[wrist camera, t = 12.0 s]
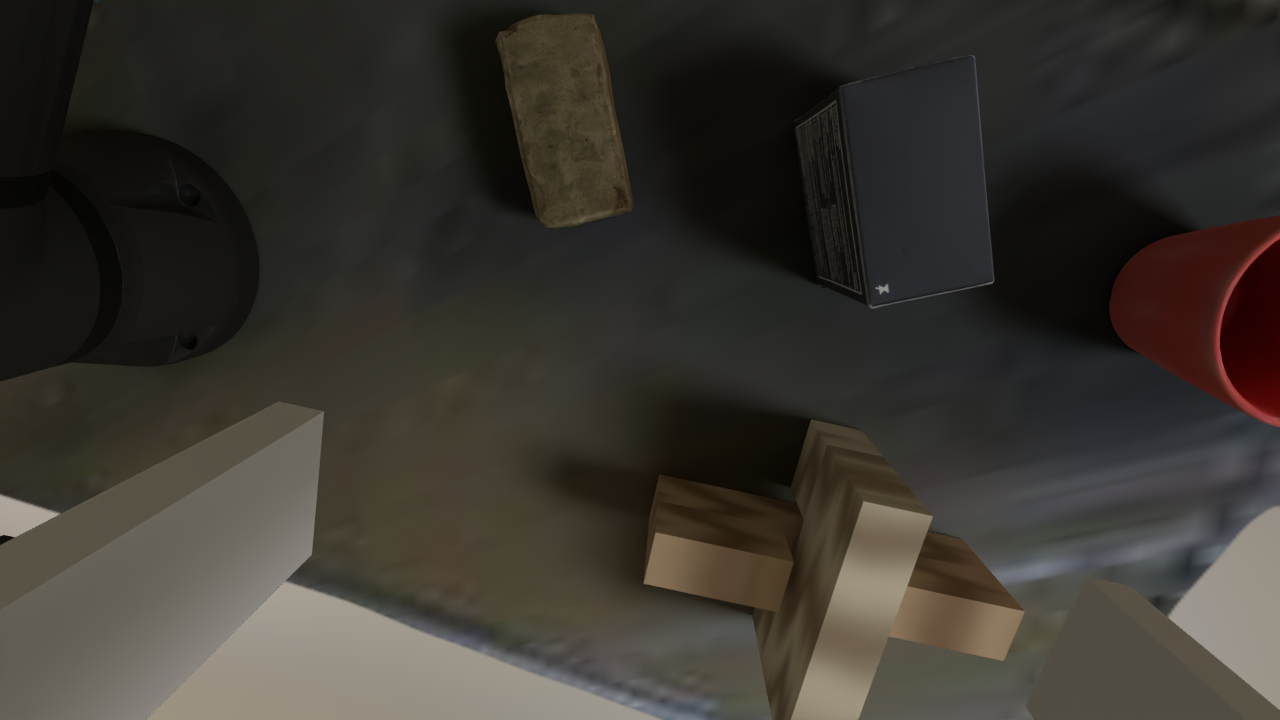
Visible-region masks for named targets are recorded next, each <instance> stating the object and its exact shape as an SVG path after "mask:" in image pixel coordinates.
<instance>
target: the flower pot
mask: <svg viewBox="0 0 1280 720" xmlns="http://www.w3.org/2000/svg"><path fill="white" fill-rule="evenodd" d="M1109 313H1110V318H1111V322H1112V325H1113V327H1114V330H1115V331H1116V333H1117V335H1118V336H1119V337H1120V339H1121V340H1122V341H1123V342H1124V343H1125V344H1126V345H1127V346H1129V347H1130V348H1131V349H1133V350H1135V351H1136V352H1138V353H1140V354H1141V355H1143V356H1144V357H1146V358H1148V359H1149V360H1151V361H1152V362H1154V363H1155V364H1157V365H1159V366H1160V367H1162V368H1164V369H1165V370H1167V371H1169V372H1170V373H1172V374H1174V375H1175V376H1177V377H1179V378H1181V379H1182V380H1184V381H1186V382H1188V383H1189V384H1191V385H1193V386H1195V387H1197V388H1199V389H1200V390H1202V391H1204V392H1206V393H1208V394H1209V395H1211V396H1213V397H1215V398H1217V399H1218V400H1220V401H1222V402H1224V403H1226V404H1227V405H1229V406H1231V407H1233V408H1235V409H1237V410H1239V411H1241V412H1243V413H1245V414H1247V415H1249V416H1251V417H1253V418H1255V419H1257V420H1259V421H1262V422H1264V423H1267V424H1270V425H1273V426H1277V427H1280V215H1279V216H1273V217H1268V218H1262V219H1255V220H1250V221H1244V222H1239V223H1234V224H1229V225H1224V226H1219V227H1214V228H1209V229H1204V230H1199V231H1194V232H1189V233H1184V234H1179V235H1174V236H1170V237H1166V238H1164V239H1161V240H1158V241H1156V242H1154V243H1152V244H1150V245H1148V246H1146V247H1145V248H1143V249H1142V250H1140V251H1139V252H1138V253H1136V254H1135V255H1134V256H1133V257H1132V258H1131V259H1130V260H1129V261H1128V262H1127V263H1126V264H1125V266H1124V267H1123V268H1122V270H1121V271H1120V273H1119V275H1118V276H1117V278H1116V280H1115V283H1114V285H1113V288H1112V294H1111V299H1110V303H1109Z"/></svg>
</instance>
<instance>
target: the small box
mask: <svg viewBox="0 0 1280 720" xmlns="http://www.w3.org/2000/svg"><path fill="white" fill-rule="evenodd" d="M793 127H794V133H795V141H796V148H797V155H798V162H799V168H800V179H801V182H802V189H803V196H804V202H805V210H806V216H807V225H808V231H809V236H810V242H811V250H812V256H813V262H814V267H815V274H816V283H817V284H818V285H820V286H821V287H823V288H826V287H827V288H829V289H831V290H834V291H836V292H838V293H840V294H843V295H845V296H848V297H850V298H852V299H854V300H857V301H859V302H861V303H864V304H865V305H867V306H868V307H869V308H871V309H874V308H878V307H882V306H887V305H891V304H896V303H902V302H906V301H912V300H917V299H921V298H925V297H930V296H935V295H941V294H946V293H950V292H956V291H960V290H965V289H970V288H974V287H980V286H984V285H989V284H992V283H993V282H994V271H993V259H992V247H991V237H990V227H989V216H988V205H987V194H986V183H985V173H984V161H983V148H982V137H981V125H980V114H979V101H978V89H977V78H976V64H975V57H974V56H973V55H966V56H961V57H956V58H951V59H946V60H942V61H938V62H934V63H929V64H925V65H921V66H916V67H912V68H909V69H904V70H900V71H896V72H892V73H888V74H883V75H879V76H875V77H871V78H867V79H863V80H859V81H856V82H851V83H847V84H844V85H841V86H840V87H838V88H837V89H836V90H835V91H834V93H832V94H831V95H830V96H829V97H828V98H826V99H825V100H823V101H822V102H820V103H819V104H818V105H816V106H815V107H813V108H812V109H811V110H809V111H808V112H807V113H805V114H804V115H803V116H801V117H799V118H797V119H795V120H794V121H793Z"/></svg>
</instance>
